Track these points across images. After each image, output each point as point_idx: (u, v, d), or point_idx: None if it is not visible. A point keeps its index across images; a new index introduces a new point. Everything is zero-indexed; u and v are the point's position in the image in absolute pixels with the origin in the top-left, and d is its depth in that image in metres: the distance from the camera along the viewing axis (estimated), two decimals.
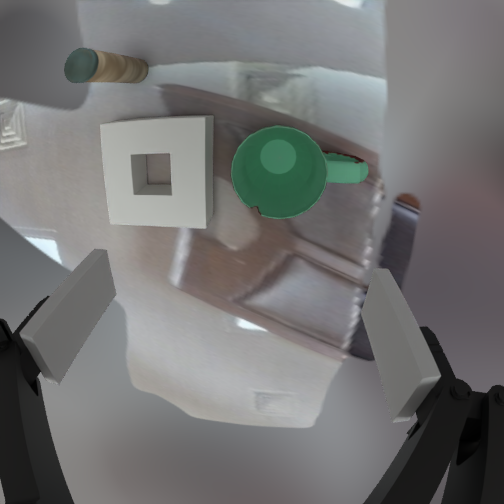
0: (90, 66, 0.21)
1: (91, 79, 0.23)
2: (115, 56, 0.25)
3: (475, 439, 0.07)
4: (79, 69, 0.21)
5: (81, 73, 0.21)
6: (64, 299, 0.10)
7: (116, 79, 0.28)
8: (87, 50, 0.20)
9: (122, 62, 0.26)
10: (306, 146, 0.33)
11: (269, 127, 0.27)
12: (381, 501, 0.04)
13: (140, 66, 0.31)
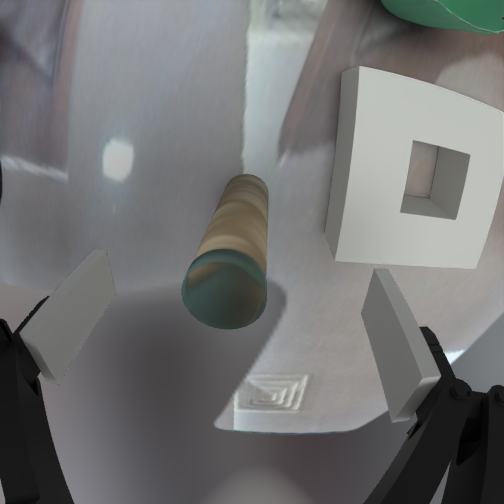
0: (233, 268, 0.12)
1: (263, 268, 0.14)
2: (217, 218, 0.17)
3: (475, 439, 0.07)
4: (234, 295, 0.13)
5: (246, 291, 0.13)
6: (64, 299, 0.10)
7: (264, 220, 0.18)
8: (190, 274, 0.12)
9: (232, 206, 0.18)
10: None
11: None
12: (381, 501, 0.04)
13: (241, 182, 0.22)
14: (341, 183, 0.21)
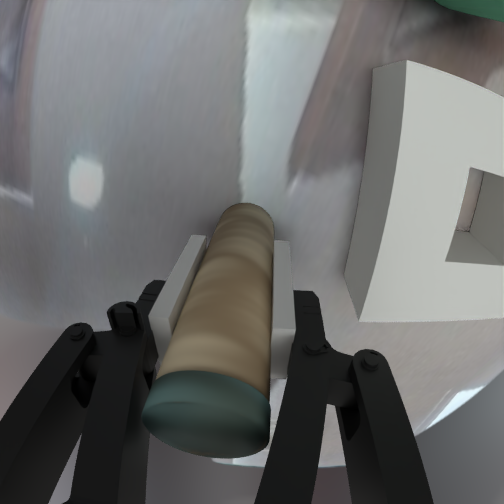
0: (217, 410, 0.07)
1: (266, 387, 0.08)
2: (198, 288, 0.11)
3: None
4: (220, 434, 0.07)
5: (237, 432, 0.07)
6: (185, 280, 0.12)
7: (269, 284, 0.13)
8: (150, 408, 0.07)
9: (223, 266, 0.12)
10: None
11: None
12: (263, 473, 0.05)
13: (238, 217, 0.17)
14: (373, 221, 0.15)
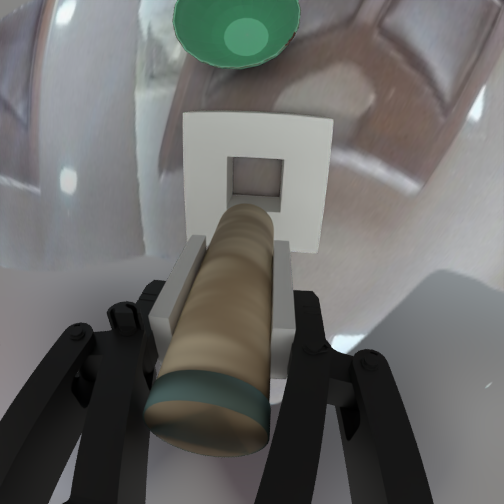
0: (217, 408, 0.07)
1: (266, 387, 0.08)
2: (199, 288, 0.11)
3: None
4: (221, 433, 0.07)
5: (238, 430, 0.07)
6: (186, 280, 0.12)
7: (269, 284, 0.13)
8: (152, 407, 0.07)
9: (223, 266, 0.12)
10: (218, 0, 0.20)
11: (174, 29, 0.18)
12: (263, 474, 0.05)
13: (238, 218, 0.17)
14: None
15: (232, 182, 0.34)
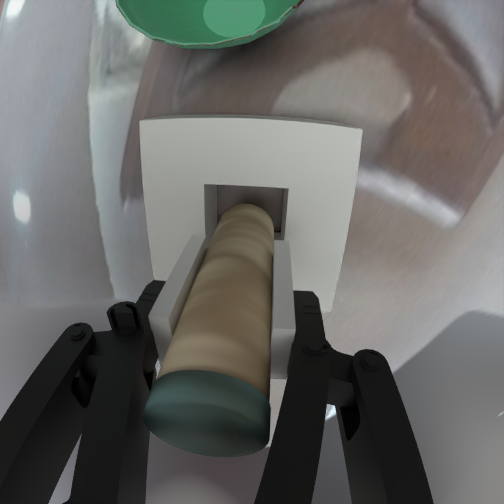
0: (217, 409, 0.07)
1: (266, 387, 0.08)
2: (199, 288, 0.11)
3: None
4: (221, 433, 0.07)
5: (238, 431, 0.07)
6: (186, 280, 0.12)
7: (269, 284, 0.13)
8: (152, 407, 0.07)
9: (223, 266, 0.12)
10: None
11: None
12: (263, 473, 0.05)
13: (238, 218, 0.17)
14: None
15: (216, 213, 0.25)
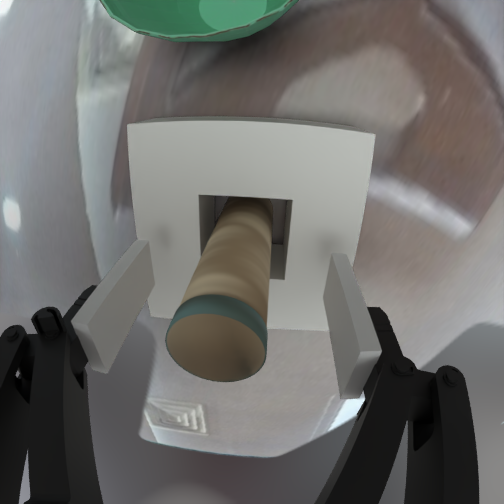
0: (226, 321, 0.10)
1: (263, 314, 0.11)
2: (211, 246, 0.14)
3: (430, 422, 0.08)
4: (227, 349, 0.10)
5: (241, 346, 0.10)
6: (115, 287, 0.11)
7: (267, 247, 0.16)
8: (175, 325, 0.10)
9: (230, 231, 0.15)
10: None
11: None
12: (333, 486, 0.05)
13: (242, 198, 0.20)
14: None
15: (213, 224, 0.23)
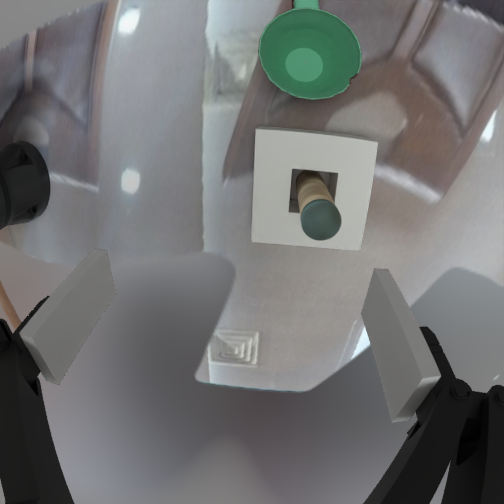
0: (328, 206, 0.26)
1: None
2: (307, 189, 0.31)
3: (475, 439, 0.07)
4: (326, 220, 0.26)
5: (332, 218, 0.26)
6: (64, 299, 0.10)
7: None
8: (307, 209, 0.26)
9: (313, 184, 0.31)
10: (286, 33, 0.26)
11: (260, 60, 0.24)
12: (381, 501, 0.04)
13: (309, 173, 0.36)
14: None
15: None
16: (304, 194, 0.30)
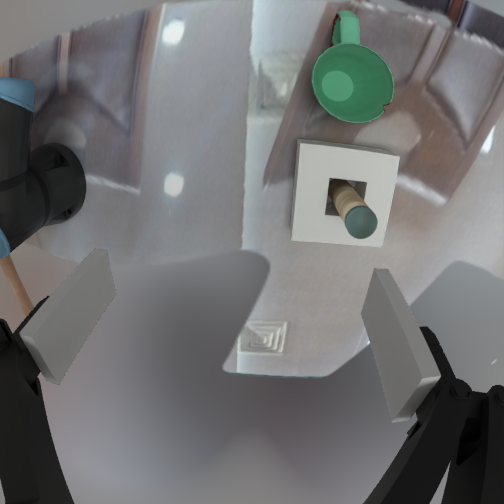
0: (368, 211, 0.31)
1: None
2: (345, 196, 0.36)
3: (474, 439, 0.07)
4: (366, 223, 0.32)
5: (370, 221, 0.32)
6: (64, 299, 0.10)
7: None
8: (352, 213, 0.32)
9: (349, 191, 0.37)
10: (328, 60, 0.31)
11: (313, 86, 0.29)
12: (381, 501, 0.04)
13: (341, 181, 0.41)
14: (294, 200, 0.42)
15: None
16: (344, 200, 0.35)
